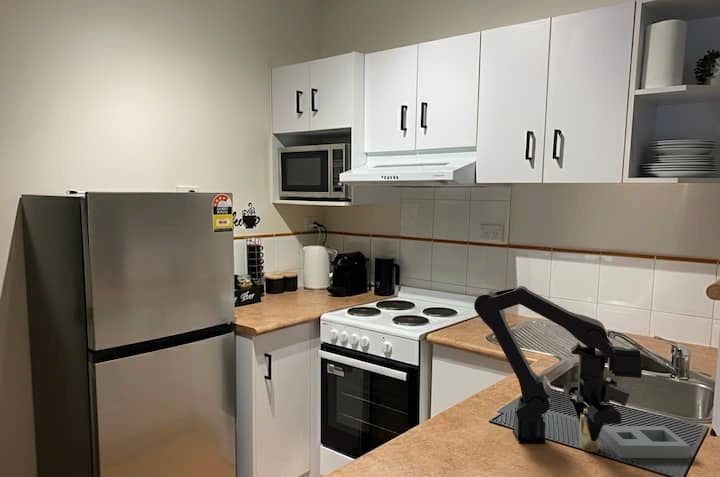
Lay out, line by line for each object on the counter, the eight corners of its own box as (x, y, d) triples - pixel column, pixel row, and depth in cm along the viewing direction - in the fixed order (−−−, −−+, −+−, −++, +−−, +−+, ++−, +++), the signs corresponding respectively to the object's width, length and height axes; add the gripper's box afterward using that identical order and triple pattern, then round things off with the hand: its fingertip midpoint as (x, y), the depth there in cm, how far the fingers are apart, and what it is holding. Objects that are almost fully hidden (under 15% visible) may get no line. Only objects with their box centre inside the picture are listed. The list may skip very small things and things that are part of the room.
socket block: (620, 458, 118) (620, 445, 118) (600, 437, 128) (600, 426, 128) (689, 458, 118) (690, 445, 118) (664, 437, 128) (664, 426, 128)
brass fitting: (583, 451, 121) (585, 413, 120) (576, 442, 126) (577, 405, 125) (602, 451, 121) (603, 413, 120) (594, 443, 125) (595, 405, 125)
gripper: (647, 387, 112) (643, 455, 114) (607, 360, 131) (604, 419, 132) (596, 387, 113) (593, 455, 114) (563, 360, 131) (561, 419, 132)
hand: (589, 436), depth 123 cm, fingers closed on brass fitting, 4 cm apart
